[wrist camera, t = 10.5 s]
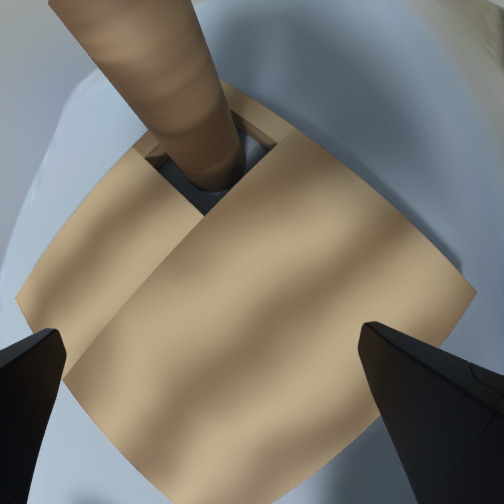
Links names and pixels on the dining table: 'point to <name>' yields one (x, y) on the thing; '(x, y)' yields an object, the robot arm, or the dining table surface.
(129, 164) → the stool top
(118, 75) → the stool leg
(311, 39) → the dining table surface
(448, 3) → the dining table surface
